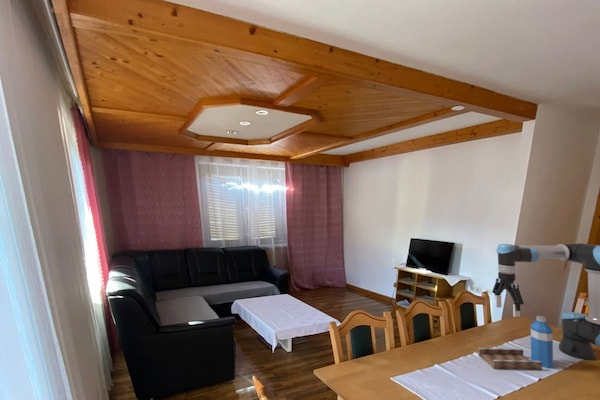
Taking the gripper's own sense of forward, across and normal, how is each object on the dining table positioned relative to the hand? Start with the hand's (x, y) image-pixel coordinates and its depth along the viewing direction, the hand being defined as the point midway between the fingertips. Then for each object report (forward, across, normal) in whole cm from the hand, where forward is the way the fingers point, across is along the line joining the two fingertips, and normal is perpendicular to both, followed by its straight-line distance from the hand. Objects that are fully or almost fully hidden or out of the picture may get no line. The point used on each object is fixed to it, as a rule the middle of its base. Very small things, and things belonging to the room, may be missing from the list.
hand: (507, 311), depth 151 cm
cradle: (+28, -1, +1) cm, 28 cm away
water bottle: (+28, -1, +19) cm, 34 cm away
